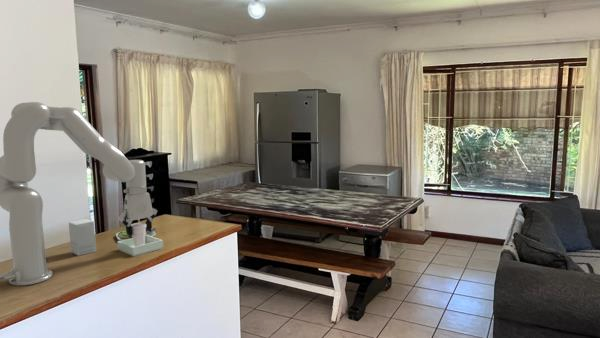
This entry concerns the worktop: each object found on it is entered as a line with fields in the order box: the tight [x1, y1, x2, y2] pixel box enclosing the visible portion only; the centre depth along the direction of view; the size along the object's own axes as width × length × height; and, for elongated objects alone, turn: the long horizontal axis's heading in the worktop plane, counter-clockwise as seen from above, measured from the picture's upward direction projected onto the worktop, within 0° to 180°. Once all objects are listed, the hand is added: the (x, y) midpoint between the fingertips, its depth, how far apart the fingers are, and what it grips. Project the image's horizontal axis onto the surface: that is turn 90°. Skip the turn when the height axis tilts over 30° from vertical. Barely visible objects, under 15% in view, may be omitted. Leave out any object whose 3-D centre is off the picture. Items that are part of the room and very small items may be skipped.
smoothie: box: [131, 219, 147, 247], centre depth 180 cm, size 6×6×14 cm
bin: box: [116, 235, 164, 257], centre depth 181 cm, size 13×13×4 cm
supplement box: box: [68, 218, 97, 257], centre depth 178 cm, size 7×7×13 cm
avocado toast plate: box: [115, 222, 157, 241], centre depth 198 cm, size 19×18×5 cm
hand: (139, 232), depth 180 cm, fingers open, 7 cm apart
